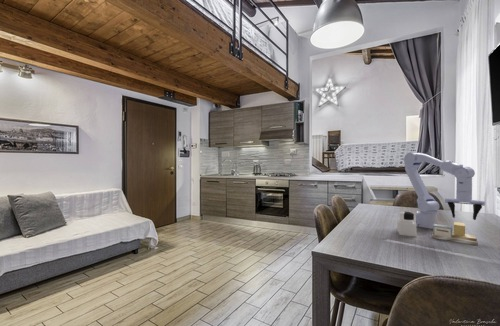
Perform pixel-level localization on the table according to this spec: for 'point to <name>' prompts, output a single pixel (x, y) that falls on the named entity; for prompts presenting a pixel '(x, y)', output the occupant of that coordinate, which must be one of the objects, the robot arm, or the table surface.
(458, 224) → the ochre carton
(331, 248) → the table surface
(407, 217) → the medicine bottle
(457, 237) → the beige divided tray
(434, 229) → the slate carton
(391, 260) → the table surface
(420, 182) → the robot arm
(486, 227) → the table surface
